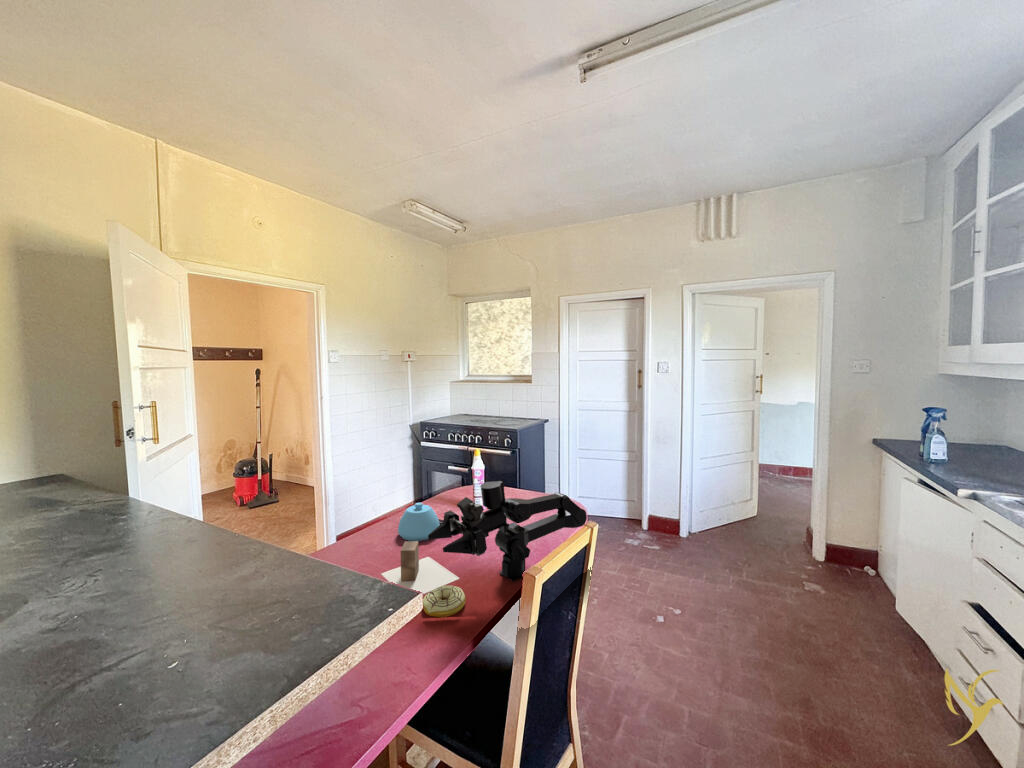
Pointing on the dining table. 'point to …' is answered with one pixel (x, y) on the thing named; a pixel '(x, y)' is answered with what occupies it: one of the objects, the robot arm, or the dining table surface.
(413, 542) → the walnut block
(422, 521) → the sugar bowl
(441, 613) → the decorated donut
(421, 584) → the rubber mat
